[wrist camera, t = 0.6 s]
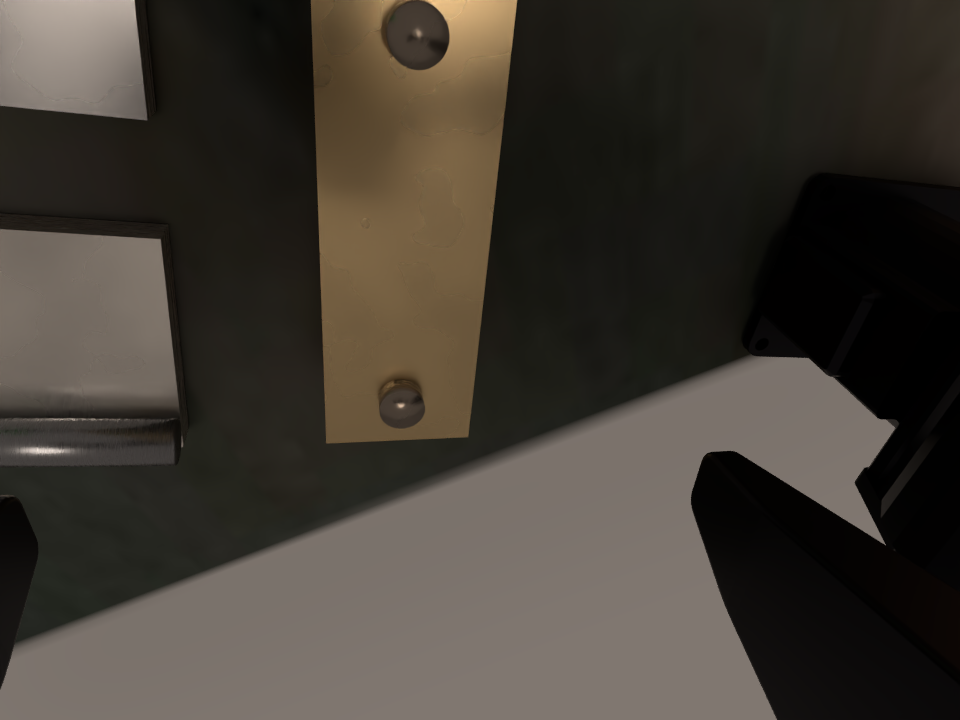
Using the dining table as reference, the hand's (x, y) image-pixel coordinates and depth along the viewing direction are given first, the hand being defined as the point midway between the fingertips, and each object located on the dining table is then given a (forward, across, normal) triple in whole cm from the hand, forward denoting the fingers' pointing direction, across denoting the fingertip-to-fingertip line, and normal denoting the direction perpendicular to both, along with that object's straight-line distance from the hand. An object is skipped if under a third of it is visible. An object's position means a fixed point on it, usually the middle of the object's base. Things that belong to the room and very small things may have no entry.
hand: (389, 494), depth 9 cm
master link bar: (+12, -1, 0) cm, 12 cm away
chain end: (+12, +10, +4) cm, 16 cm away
